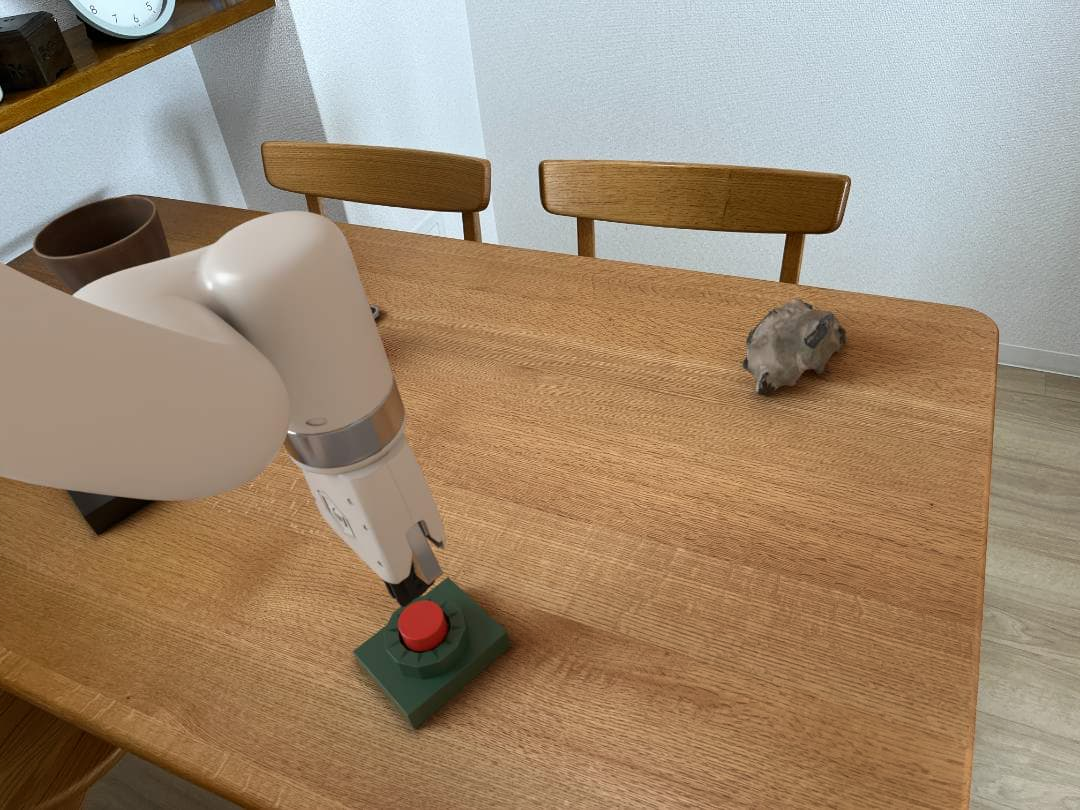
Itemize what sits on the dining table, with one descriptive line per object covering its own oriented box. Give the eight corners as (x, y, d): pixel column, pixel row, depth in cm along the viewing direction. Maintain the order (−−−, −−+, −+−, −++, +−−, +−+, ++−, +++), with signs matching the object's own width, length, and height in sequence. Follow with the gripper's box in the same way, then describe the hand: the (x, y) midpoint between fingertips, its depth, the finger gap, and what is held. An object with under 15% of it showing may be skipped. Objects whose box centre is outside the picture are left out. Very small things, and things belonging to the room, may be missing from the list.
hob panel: (188, 480, 87) (175, 460, 85) (97, 535, 82) (82, 515, 80) (140, 423, 95) (127, 403, 93) (55, 470, 91) (40, 450, 89)
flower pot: (184, 357, 105) (127, 249, 94) (76, 367, 106) (8, 262, 95) (220, 292, 116) (173, 190, 105) (122, 302, 117) (66, 202, 107)
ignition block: (414, 730, 62) (402, 704, 60) (359, 665, 67) (345, 639, 64) (511, 646, 67) (503, 618, 64) (452, 591, 72) (443, 563, 69)
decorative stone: (770, 309, 95) (796, 242, 87) (845, 340, 92) (879, 274, 84) (718, 396, 86) (743, 330, 78) (800, 434, 83) (834, 370, 75)
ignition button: (420, 660, 63) (415, 648, 61) (394, 632, 65) (389, 620, 64) (456, 630, 64) (452, 618, 63) (430, 604, 66) (425, 592, 65)
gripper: (231, 394, 52) (321, 565, 64) (354, 511, 43) (432, 685, 55) (329, 336, 55) (398, 510, 67) (463, 434, 46) (514, 615, 58)
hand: (413, 589), depth 61 cm, fingers closed
